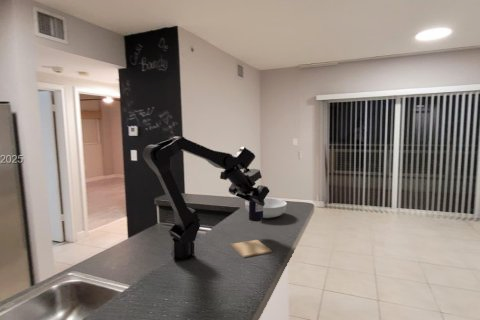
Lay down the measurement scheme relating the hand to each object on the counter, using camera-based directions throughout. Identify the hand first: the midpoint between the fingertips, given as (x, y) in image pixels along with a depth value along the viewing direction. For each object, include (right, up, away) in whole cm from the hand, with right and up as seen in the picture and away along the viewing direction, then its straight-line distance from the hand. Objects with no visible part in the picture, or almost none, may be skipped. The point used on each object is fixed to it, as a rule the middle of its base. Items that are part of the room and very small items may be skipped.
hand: (258, 203), depth 117 cm
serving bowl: (+5, -11, +30) cm, 32 cm away
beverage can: (-1, -7, 0) cm, 7 cm away
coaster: (-4, -14, -12) cm, 19 cm away
